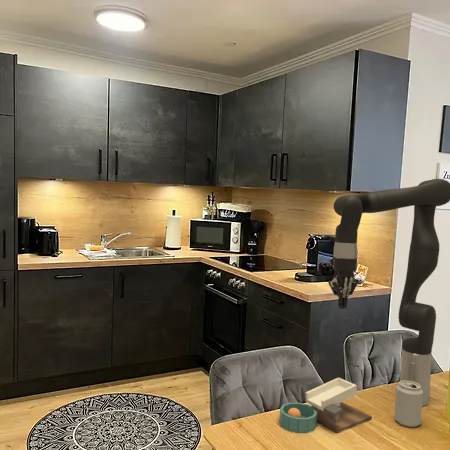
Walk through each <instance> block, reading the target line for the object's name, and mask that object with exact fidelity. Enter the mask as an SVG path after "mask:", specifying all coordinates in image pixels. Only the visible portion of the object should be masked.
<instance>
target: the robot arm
mask: <svg viewBox="0 0 450 450" xmlns="http://www.w3.org/2000/svg"><path fill="white" fill-rule="evenodd" d="M449 202H450V181H448V180H446V179H444V178H432V179H427V180H424V181H421V182H420V183H418V185H414V186H408V187H401V188H400V187H399V188H390V189H382V190H374V191H370V192H365V193H356V194H354V193H353V194H345V195H341V196H339V197H337V198H336V199H335V200H334V202H333V207H332V208H333V211H334V212H335V213H336V214H337V215H338V216H340V223H339V224H337V225H336V227H335V232H334V233H335V235H334V236H335V237H334V246H333V260H332V269H333V270H334V274H333V279H332V280H329V281H328V286H329V288H330V289H331V291H332V293H333V295H334V296H337V297H338V300H337V301H338V303H337V306H338V308H339V309H342V310H344V309H345V310H346V309H347V307H348V300H349V299H348V298H349V297H350V296H352V295H353V293H354V292H355V290H356V288H357V287H358V285H359V282H360V280H359V279H357V278H356V277H355V273H354V272H356V271H357V267H358V266H357V265H358V264H357V263H358V229H359V226H360V224H361V220H362V215H363V214H377V213H382V212H388V211H392V210H399V209H402V208H407V207H413V206H414V207H413V222H412V229H411V237H410V238H411V239H410V245H409V251H408V259H407V269H406V275H405V283H404V286H403V287H404V288H403V291H402V295H401V299H400V300H401V301H400V304H399V309H398V322H399V325H400V326H401V327H402V328H404V329H408V330H413V331H417V332H418V334H417V335H418V336H416V337H409V338H405V339H403V340H402V344H401V358H400V359H401V362H400V374H399V375H400V376H399V377H400V378H399V382H400V381H404V380H406V381H413V382H416V383H418V384H420V386H421V389H422V390H423V399H422V407H425V406H428V405H429V402H430V396H431V394H430V393H431V382H432V381H431V379H432V373H431V368H432V367H431V366H432V354H433V353H432V351H433V345H434V340H435V332H436V331H435V330H436V322H437V313H436V309H435V307H434V306H432V305H431V304H427V303H421V302H416V300H417V297H418V294H419V291H420V289H421V287H422V285H424V283H425V282H426V280H428V278H429V277H431V275H433V273H434V271H435V270H436V268H437V267H438V263H439V255H440V243H439V242H440V240H439V237H438V234H437V231H436V228H435V214H436V208H437V207H441V206H444V205H446V204H448V203H449Z"/></svg>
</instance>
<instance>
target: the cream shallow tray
mask: <svg viewBox="0 0 450 450" xmlns="http://www.w3.org/2000/svg"><path fill="white" fill-rule="evenodd" d="M304 394H305V403H307V404H308V405H310V406H311V405H313V406H315V407H317V408H318V409H320V410H322V411H324V412H326V413H328V414H330V415H332V416H334V417H335V416H337V415H339V414H341V413H342V409H341V408H339V407H337V406H335V405H336V404H339V403H341V402H343V403H344V401H347V400H348V399H351V398H352V397H354V396H357V394H358V387H357V384H355V383H353V382H350V381H347V380H345V379H343V378H341V377H336V378H333V379H332V380H330V381H328V382H326V383H324V384H320V385H318V386H317V387H314V388H313V389H310V390H308V391H306V392H305V393H304Z"/></svg>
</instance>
